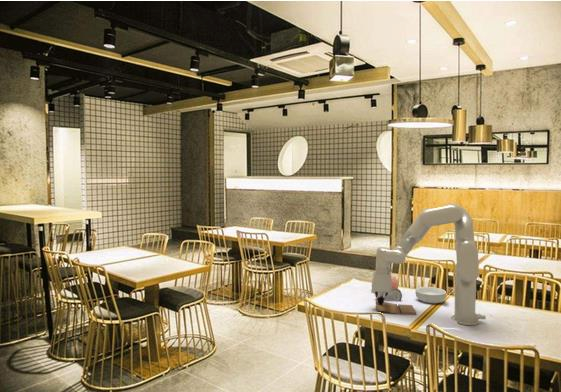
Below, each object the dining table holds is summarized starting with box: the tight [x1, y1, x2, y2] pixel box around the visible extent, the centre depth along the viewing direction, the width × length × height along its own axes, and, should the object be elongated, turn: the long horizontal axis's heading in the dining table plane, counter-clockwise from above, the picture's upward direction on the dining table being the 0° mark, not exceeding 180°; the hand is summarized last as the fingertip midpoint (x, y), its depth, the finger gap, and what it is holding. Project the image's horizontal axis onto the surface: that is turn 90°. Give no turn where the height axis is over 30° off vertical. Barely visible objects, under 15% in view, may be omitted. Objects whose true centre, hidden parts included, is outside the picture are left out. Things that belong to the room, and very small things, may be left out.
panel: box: [375, 299, 401, 315], centre depth 216 cm, size 11×12×2 cm
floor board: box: [397, 303, 417, 316], centre depth 216 cm, size 22×13×2 cm, turn 82°
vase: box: [391, 273, 399, 289], centre depth 250 cm, size 14×14×18 cm
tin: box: [374, 287, 403, 302], centre depth 233 cm, size 15×3×8 cm, turn 84°
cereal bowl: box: [414, 286, 447, 304], centre depth 233 cm, size 17×17×7 cm
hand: (380, 304), depth 217 cm, fingers closed
